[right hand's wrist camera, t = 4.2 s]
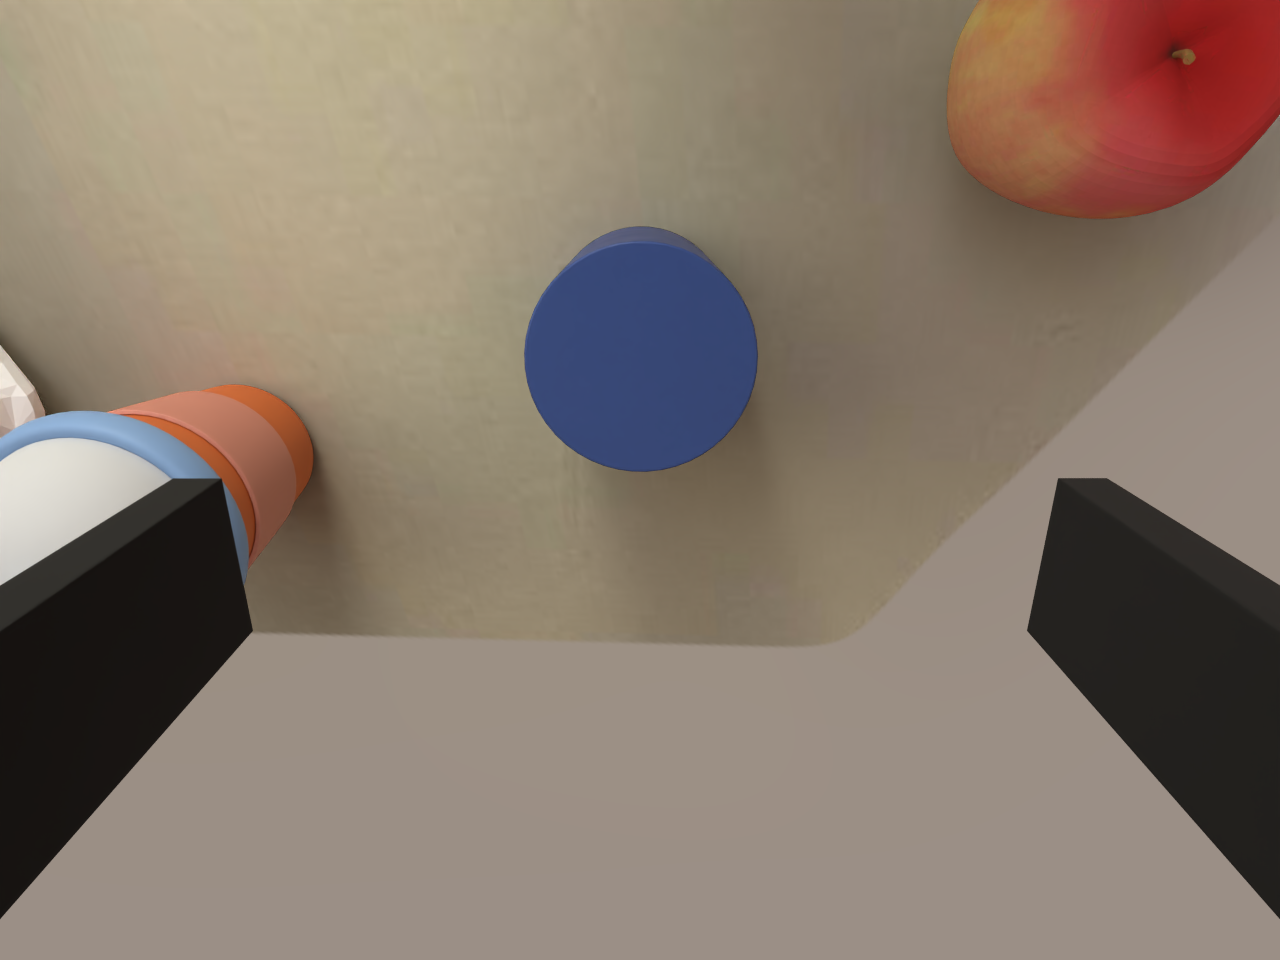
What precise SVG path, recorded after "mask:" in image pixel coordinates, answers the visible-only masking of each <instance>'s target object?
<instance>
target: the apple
mask: <svg viewBox="0 0 1280 960" xmlns="http://www.w3.org/2000/svg"><path fill="white" fill-rule="evenodd" d="M1279 114H1280V0H979V2H978V3H977V5H976V6H975V8H974V10H973V12H972V13H971V15H970V17H969V19H968V21H967V22H966V24H965V26H964V28H963V30H962V32H961V34H960V37H959V39H958V42H957V45H956V48H955V51H954V55H953V59H952V63H951V69H950V75H949V82H948V91H947V122H948V130H949V135H950V139H951V144H952V146H953V149H954V151H955V154H956V156H957V158H958V159H959V161H960V162H961V164H962V165H963V166H964V168H965V169H966V170H967V171H968V172H969V173H970V174H971V175H972V176H973V177H974V178H976V179H977V180H978V181H979V182H980V183H982V184H983V185H984V186H986V187H987V188H989V189H990V190H992V191H994V192H995V193H997V194H999V195H1001V196H1003V197H1005V198H1007V199H1009V200H1011V201H1014V202H1016V203H1019V204H1022V205H1024V206H1027V207H1030V208H1033V209H1036V210H1040V211H1043V212H1047V213H1052V214H1057V215H1063V216H1070V217H1077V218H1090V219H1105V218H1122V217H1130V216H1136V215H1141V214H1147V213H1151V212H1154V211H1158V210H1161V209H1164V208H1167V207H1170V206H1173V205H1175V204H1178V203H1180V202H1182V201H1184V200H1186V199H1189V198H1191V197H1193V196H1195V195H1196V194H1198V193H1200V192H1201V191H1203V190H1205V189H1206V188H1208V187H1209V186H1211V185H1212V184H1213V183H1215V182H1216V181H1217V180H1218V179H1220V178H1221V177H1222V176H1223V175H1224V174H1226V173H1227V172H1228V171H1229V170H1230V169H1231V168H1232V167H1233V166H1234V165H1235V164H1236V163H1237V162H1238V161H1239V160H1240V159H1241V158H1242V157H1243V156H1244V155H1245V154H1246V153H1247V152H1248V151H1249V150H1250V149H1251V147H1252V146H1253V145H1254V144H1255V143H1256V142H1257V141H1258V140H1259V139H1260V138H1261V136H1262V135H1263V134H1264V133H1265V132H1266V131H1267V129H1268V128H1269V127H1270V126H1271V125H1272V123H1273V122H1274V121H1275V120H1276V118H1277V117H1278V116H1279Z"/></svg>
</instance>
